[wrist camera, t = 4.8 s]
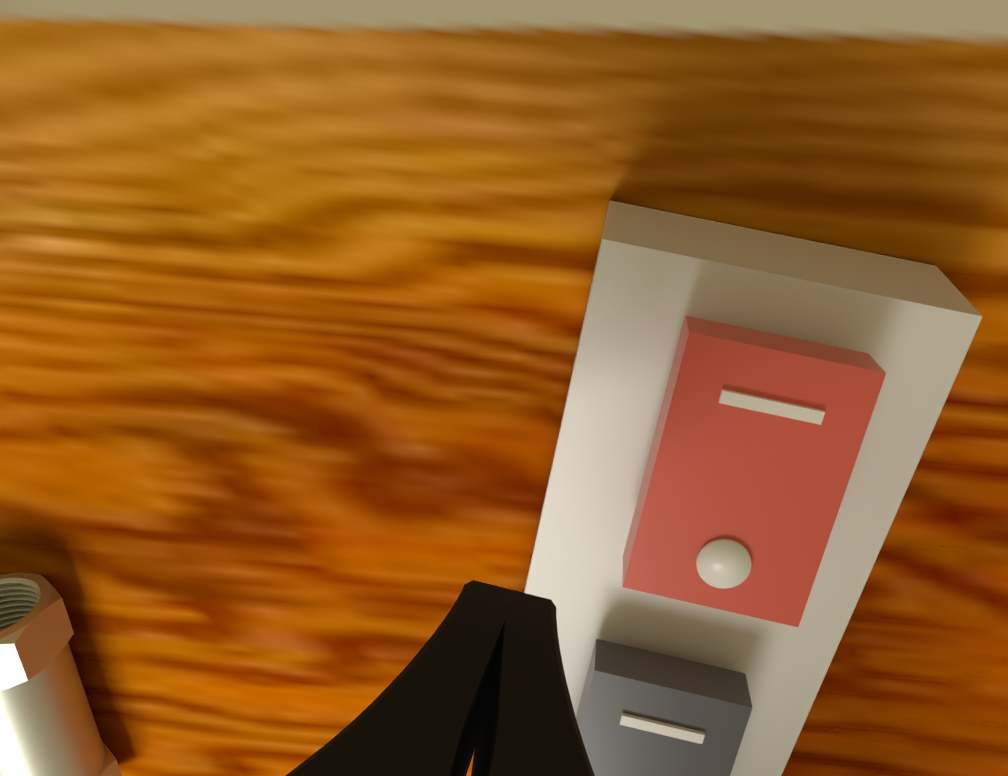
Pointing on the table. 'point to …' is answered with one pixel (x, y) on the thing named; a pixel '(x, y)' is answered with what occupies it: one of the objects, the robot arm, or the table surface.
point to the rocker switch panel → (634, 415)
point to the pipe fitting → (43, 688)
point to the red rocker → (748, 469)
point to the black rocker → (660, 714)
